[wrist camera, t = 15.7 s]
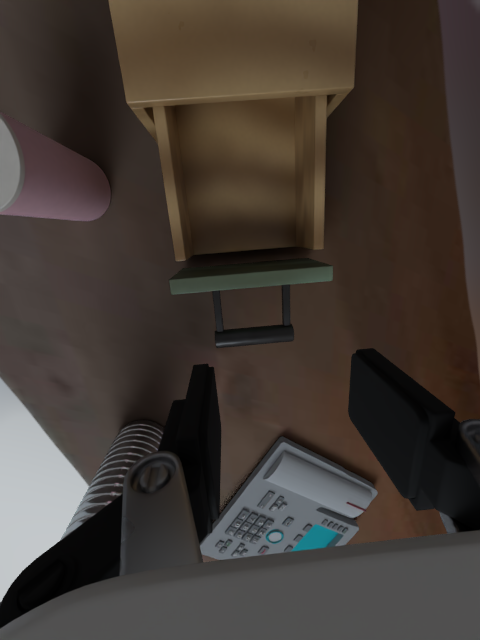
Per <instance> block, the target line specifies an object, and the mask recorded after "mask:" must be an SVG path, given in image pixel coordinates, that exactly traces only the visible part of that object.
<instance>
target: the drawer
mask: <svg viewBox="0 0 480 640" xmlns="http://www.w3.org/2000/svg"><path fill="white" fill-rule="evenodd" d="M152 108H153V115H154V122H155V128H156V135H157V141H158V148H159V154H160V161H161V168H162V174H163V181H164V187H165V194H166V200H167V207H168V213H169V220H170V227H171V233H172V240H173V246H174V253H175V259H176V261H185V260H187V259H188V258H190V257H191V256H193V255H200V254H212V253H224V252H235V251H247V250H259V249H271V248H283V247H295V246H297V247H302V248H308V249H313V250H318V249H323V248H324V208H325V163H326V118H327V95H316V96H302V97H288V98H273V99H259V100H244V101H230V102H216V103H201V104H187V105H172V106H158V107H152ZM332 278H333V266H332V265H329V264H325V263H322V262H319V261H316V260H312V259H309V258H300V259H289V260H277V261H265V262H253V263H242V264H230V265H218V266H206V267H194V268H183V269H182V270H180V271H179V272H178V273H177V274H176V275H174V276H173V277H172V278H171V279H170V280H169V284H170V290H171V294H172V295H173V294H184V293H196V292H207V291H212V292H213V301H214V310H215V319H216V328H217V331H215V343H216V348H224V347H235V346H246V345H257V344H267V343H278V342H289V341H293V340H294V330H293V326H292V324H290V284H299V283H310V282H322V281H332ZM276 285H282V319H283V324H282V325H271V326H260V327H249V328H239V329H228V330H224V328H223V318H222V308H221V299H220V290H230V289H242V288H253V287H265V286H276Z"/></svg>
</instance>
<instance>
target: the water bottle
mask: <svg viewBox="0 0 480 640" xmlns="http://www.w3.org/2000/svg"><path fill="white" fill-rule="evenodd" d="M163 432H164V428H163V427H162V426H161V425H159V424H157V423H155V422H153V421H149V420H137V421H133V422H131V423H129V424H127V425H125V426H124V427H123V428H122V429H121V430H120V432H119V433H118V435H117V436H116V438H115V439H114V441H113V443H112V445H111V447H110V449H109V451H108V453H107V455H106V456H105V458H104V460H103V462H102V464H101V466H100V468H99V469H98V471H97V473H96V475H95V477H94V478H93V480H92V483H91V484H90V486H89V488H88V490H87V492H86V494H85V496H84V497H83V499H82V501H81V503H80V505H79V507H78V509H77V511H76V512H75V514H74V516H73V518H72V520H71V522H70V523H69V525H68V527H67V529H66V532H65V533H64V535H63V536H62V538H61V540H62V539H63V538H65V537H66V536H67V535H68V534H70V533H71V532H72V531H74V530H75V529H76V528H78V527H79V526H80V525H82V524H83V523H84V522H86V521H87V520H88V519H90V518H91V517H92V516H94V515H95V514H96V513H97V512H99V511H100V510H101V509H103V508H104V507H105V506H107V505H108V504H109V503H111V502H112V501H113V500H115V499H116V498H117V497H119V496H120V495H121V494H123V483H124V478H125V475H126V473H127V472H128V470H129V468H130V467H131V466H132V465H133V464H134V463H135V462H136V461H138V460H139V459H140V458H142V457H143V456H145V455H148V454H150V453H153V452H157V451H158V448H159V445H160V441H161V438H162V435H163ZM61 540H60V541H61Z"/></svg>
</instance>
